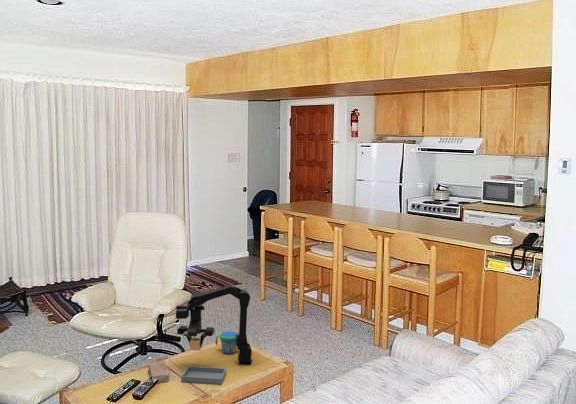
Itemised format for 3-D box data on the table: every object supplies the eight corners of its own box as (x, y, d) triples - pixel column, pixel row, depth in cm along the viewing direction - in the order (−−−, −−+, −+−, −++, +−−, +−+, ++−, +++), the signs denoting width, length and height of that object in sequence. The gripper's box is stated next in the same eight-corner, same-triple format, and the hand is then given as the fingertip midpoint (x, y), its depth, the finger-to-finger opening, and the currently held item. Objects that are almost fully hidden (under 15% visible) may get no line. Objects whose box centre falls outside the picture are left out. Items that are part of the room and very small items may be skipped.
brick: (169, 382, 259) (169, 373, 258) (152, 384, 256) (152, 375, 255) (164, 368, 274) (164, 360, 274) (148, 370, 271) (148, 362, 270)
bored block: (201, 346, 278) (201, 337, 277) (199, 350, 273) (199, 341, 272) (192, 346, 279) (192, 337, 278) (189, 349, 274) (189, 340, 273)
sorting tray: (226, 374, 268) (226, 368, 268) (220, 384, 256) (220, 379, 256) (188, 371, 270) (188, 365, 270) (181, 382, 259) (181, 376, 258)
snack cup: (245, 349, 299) (245, 332, 298) (238, 357, 289) (238, 339, 288) (220, 346, 304) (220, 329, 302) (212, 353, 293) (212, 335, 292)
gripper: (173, 322, 267) (173, 351, 269) (209, 324, 265) (209, 353, 267) (180, 314, 278) (180, 343, 280) (214, 316, 276) (214, 345, 278)
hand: (195, 346), depth 276 cm, fingers closed on bored block, 5 cm apart
